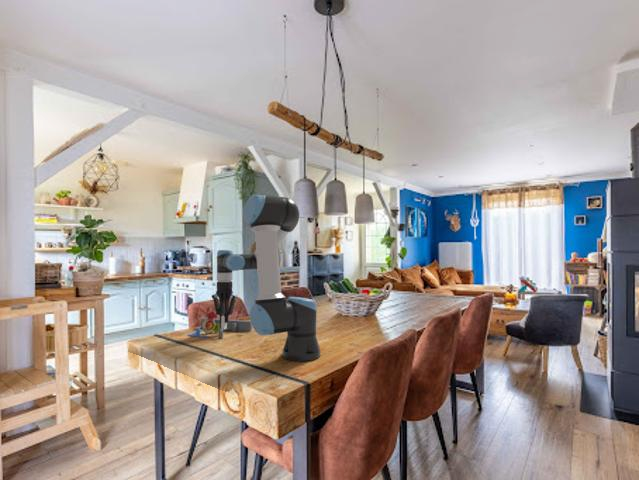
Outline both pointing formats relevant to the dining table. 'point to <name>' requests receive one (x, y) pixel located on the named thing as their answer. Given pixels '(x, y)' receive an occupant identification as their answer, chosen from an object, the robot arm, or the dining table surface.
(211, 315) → the bird rattle
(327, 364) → the dining table surface
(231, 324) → the duct rack
